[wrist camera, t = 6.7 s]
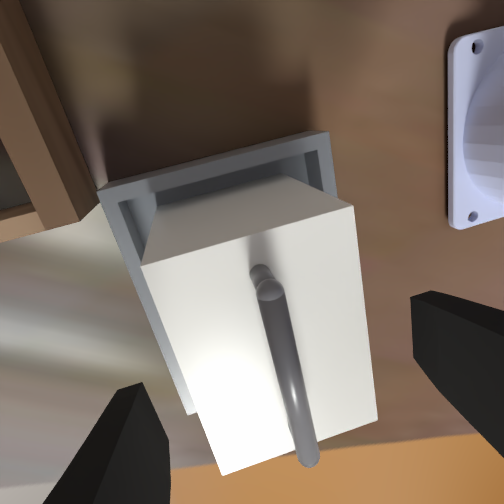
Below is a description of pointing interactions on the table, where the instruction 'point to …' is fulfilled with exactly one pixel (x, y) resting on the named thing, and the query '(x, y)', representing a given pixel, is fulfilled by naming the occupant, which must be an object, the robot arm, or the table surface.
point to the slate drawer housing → (197, 183)
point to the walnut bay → (37, 136)
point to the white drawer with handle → (264, 316)
